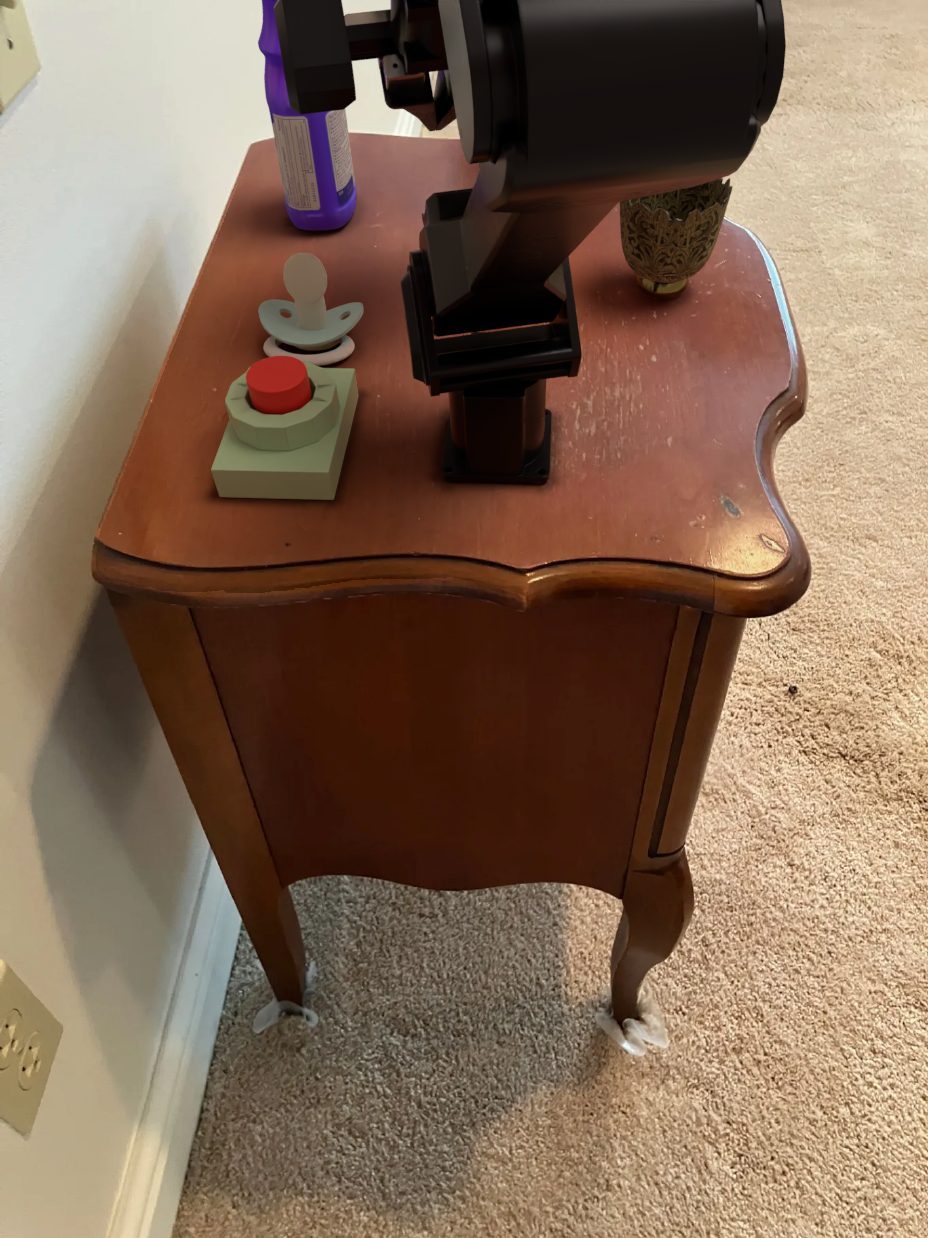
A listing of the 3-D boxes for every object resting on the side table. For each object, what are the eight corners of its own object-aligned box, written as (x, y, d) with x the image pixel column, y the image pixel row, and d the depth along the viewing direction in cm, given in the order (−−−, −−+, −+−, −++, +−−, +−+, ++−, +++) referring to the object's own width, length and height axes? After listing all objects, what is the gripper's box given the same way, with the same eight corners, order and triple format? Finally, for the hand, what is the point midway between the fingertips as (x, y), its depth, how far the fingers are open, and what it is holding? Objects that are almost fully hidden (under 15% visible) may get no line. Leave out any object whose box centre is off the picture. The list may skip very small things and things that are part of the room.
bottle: (297, 193, 81) (254, -47, 67) (363, 192, 80) (333, -49, 67) (283, 237, 76) (234, -11, 62) (353, 236, 76) (319, -14, 62)
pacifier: (354, 375, 64) (371, 322, 68) (341, 294, 59) (360, 241, 63) (251, 370, 65) (273, 318, 68) (229, 289, 60) (254, 238, 64)
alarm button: (305, 416, 55) (300, 392, 54) (245, 415, 56) (239, 391, 54) (316, 379, 58) (311, 355, 56) (258, 378, 58) (252, 354, 57)
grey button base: (334, 500, 56) (323, 448, 53) (219, 497, 57) (202, 445, 54) (358, 395, 62) (350, 343, 59) (255, 394, 63) (242, 342, 60)
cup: (709, 263, 71) (728, 156, 65) (716, 319, 66) (737, 209, 60) (610, 262, 72) (619, 155, 65) (609, 317, 67) (619, 208, 61)
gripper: (593, -221, 50) (547, -2, 65) (239, -190, 48) (278, 27, 64) (631, -26, 49) (575, 150, 64) (272, 13, 47) (303, 183, 63)
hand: (434, 123), depth 64 cm, fingers closed
